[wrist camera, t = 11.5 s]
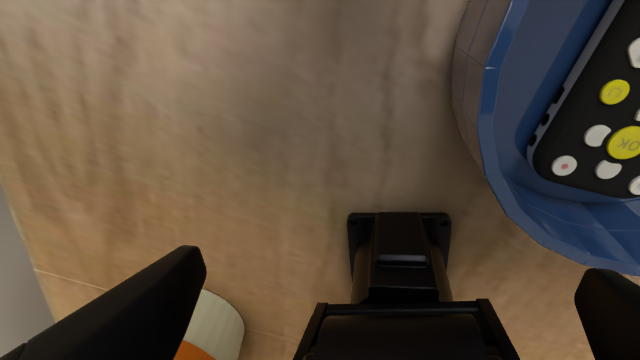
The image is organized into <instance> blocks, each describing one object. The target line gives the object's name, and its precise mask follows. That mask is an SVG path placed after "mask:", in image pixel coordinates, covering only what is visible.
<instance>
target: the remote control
mask: <svg viewBox="0 0 640 360" xmlns="http://www.w3.org/2000/svg"><path fill="white" fill-rule="evenodd" d="M551 103H552V104H551V106H550V108H549V109H548V111H547V113H546V114H545V115H544V116H543V118H542V120H541V123H540V125H539V126H538V128H537V130H536V131H535V133H534V135H532V136H531V138H530V140H529V145H528V148H527V159H528V162H529V164H530V165H531V167H532V168H533V170H534V171H535V172H536V173H537V174H538V175H539V176H541V177H542V178H543V179H545V180H547V181H550V182H553V183H557V184H561V185H565V186H569V187H573V188H577V189H581V190H585V191H589V192H593V193H597V194H601V195H605V196H609V197H614V198H620V199H630V198H637V197H640V0H613V1H612V3H611V4H610V6H609V8H608V9H607V11H606V13H605V14H604V16H603V18H602V20H601V21H600V23H599V25H598V26H597V28H596V30H595V31H594V33H593V35H592V37H591V38H590V40H589V42H588V43H587V45H586V47H585V48H584V50H583V52H582V53H581V55H580V57H579V59H578V60H577V62H576V64H575V65H574V67H573V69H572V70H571V72H570V74H569V76H568V77H567V79H566V81H565V82H564V84H563V86H561V87H560V89H559V91H558V92H557V94H556V96H555V97H554V99H553V101H552V102H551Z"/></svg>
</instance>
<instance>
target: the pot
mask: <svg viewBox="0 0 640 360" xmlns="http://www.w3.org/2000/svg"><path fill="white" fill-rule="evenodd" d="M612 1H613V0H470V1H469V3H468V5H467V8H466V10H465V13H464V15H463V18H462V21H461V24H460V28H459V32H458V35H457V39H456V43H455V47H454V54H453V61H452V68H451V93H452V101H453V109H454V113H455V116H456V120H457V123H458V127H459V132H460V134H461V136H462V138H463V139H464V141H465V143H466V145H467V147H468V148H469V150H470V152H471V154H472V155H473V157H474V159H475V161H476V163H477V164H478V166H479V168H480V170H481V172H482V173H483V175H484V177H485V179H486V180H487V182H488V184H489V186H490V188H491V189H492V191H493V193H494V195H495V196H496V198H497V200H498V202H499V203H500V205H501V207H502V209H503V210H504V212H505V214H506V215H507V217H509V218H510V219H511V220H512V221H513V222H514V223H515V224H516V225H518V226H519V227H520V228H521V229H522V230H523V231H524V232H526V233H527V234H528V235H529V236H530V237H531V238H532V239H533V240H535V241H536V242H537V243H538V244H540V245H541V246H543V247H545V248H548V249H550V250H552V251H554V252H556V253H558V254H560V255H562V256H565V257H567V258H569V259H571V260H573V261H575V262H577V263H579V264H583V265H585V266H590V267H594V268H599V269H610V270H613V271H615V272H617V273H622V274H627V275H631V276H640V197H637V198H630V199H620V198H614V197H609V196H605V195H601V194H597V193H593V192H589V191H585V190H581V189H577V188H573V187H569V186H565V185H561V184H557V183H553V182H550V181H547V180H545V179H543V178H542V177H541V176H539V175H538V174H537V173H536V172H535V171H534V170H533V168H532V167H531V165H530V164H529V162H528V159H527V148H528V145H529V140H530V138H531V136H532V135H534V133H535V131H536V130H537V128H538V126H539V125H540V123H541V120H542V118H543V116H544V115H545V114H546V113H547V111H548V109H549V108H550V106H551V104H552V103H551V102H552V101H553V99H554V97H555V96H556V94H557V92H558V91H559V89H560V87H561V86H563V84H564V82H565V81H566V79H567V77H568V76H569V74H570V72H571V70H572V69H573V67H574V65H575V64H576V62H577V60H578V59H579V57H580V55H581V53H582V52H583V50H584V48H585V47H586V45H587V43H588V42H589V40H590V38H591V37H592V35H593V33H594V31H595V30H596V28H597V26H598V25H599V23H600V21H601V20H602V18H603V16H604V14H605V13H606V11H607V9H608V8H609V6H610V4H611V3H612Z"/></svg>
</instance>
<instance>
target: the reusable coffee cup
mask: <svg viewBox="0 0 640 360" xmlns="http://www.w3.org/2000/svg"><path fill="white" fill-rule="evenodd" d="M244 332H245V329H244V323H243V320H242V318H241V316H240V315H239V313H238V312H237V311H236V310H235V309H234V308H233V306H232V305H230V304H229V303H228V302H227V301H225V300H224V299H223V298H221V297H219V296H218V295H216V294H214V293H212V292H209V291H207V290H204V289H202V290H201V293H200V296H199V298H198V301H197V304H196V307H195V310H194V312H193V315H192V318H191V321H190V324H189V326H188V329H187V331H186V334H185V336H184V338H183V341H182V343H181V345H180V347H179V349H178V351H177V353H176V356H175V358H174V360H237V359H238V356H239V352H240V348H241V344H242V340H243V336H244Z"/></svg>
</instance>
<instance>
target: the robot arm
mask: <svg viewBox="0 0 640 360" xmlns="http://www.w3.org/2000/svg"><path fill="white" fill-rule="evenodd" d="M352 220H357V221H358V222H353V221H352ZM441 220H446V221H445V222H443V223H440V221H441ZM451 224H452V223H451V219H450V216H449V215H448V214H446V213H417V212H379V213H352V214H350V215H349V216H348V219H347V229H348V240H349V252H350V263H351V274H352V283H353V284H352V294H351V304H328V303H317V306H316V308H315V310H314V313H313V315H312V316H311V318H310V321H309V323H308V325H307V328H306V330H305V332H304V335H303V337H302V339H301V342H300V344H299V346H298V349H297V351H296V353H295V356H294V358H293V360H520V358H519V356H518V354H517V352H516V350H515V348H514V346H513V344H512V343H511V341H510V339H509V337H508V335H507V333H506V331H505V329H504V327H503V325H502V324H501V322H500V320H499V318H498V316H497V314H496V312H495V310H494V308H493V306H492V305H491V303H490V301H489V299H476V301H453V297H452V293H451V289H450V285H449V280H448V276H447V262H448V253H449V243H450V234H451ZM206 274H207V271H206V266H205V263H204V260H203V257H202V254H201V251H200V249H199V248H198V247H197V246H188V245H183V246H180V247H178V248H177V249H175V250H174V251H172V252H170V253H169V254H167V255H166V256H164V257H162V258H161V259H159V260H157V261H156V262H154V263H153V264H151V265H149V266H148V267H146V268H145V269H143V270H141V271H140V272H138V273H136V274H135V275H133V276H132V277H130V278H128V279H127V280H125V281H124V282H122V283H120V284H119V285H117V286H115V287H114V288H112V289H111V290H109V291H107V292H106V293H104V294H102V295H101V296H99V297H98V298H96V299H94V300H93V301H91V302H90V303H88V304H86V305H85V306H83V307H81V308H80V309H78V310H77V311H75V312H73V313H72V314H70V315H69V316H67V317H65V318H64V319H62V320H60V321H59V322H57V323H56V324H54V325H52V326H51V327H49V328H47V329H46V330H44V331H43V332H41V333H39V334H38V335H36V336H35V337H33V338H32V339H30V340H29V341H28V342H27V343H23V344H21V345H20V346H18V347H17V348H15V349H13V350H12V351H10V352H9V353H7V354H6V355H4V356H2V357H1V358H0V360H174V358H175V356H176V353H177V351H178V349H179V347H180V345H181V343H182V341H183V338H184V336H185V334H186V331H187V329H188V326H189V324H190V321H191V318H192V315H193V312H194V310H195V307H196V304H197V301H198V298H199V296H200V293H201V290H202V287H203V284H204V282H205V279H206ZM574 301H575V306H576V309H577V311H578V314H579V317H580V320H581V322H582V325H583V328H584V331H585V333H586V336H587V339H588V342H589V344H590V347H591V350H592V352H593V355H594V358H595V360H640V286H638V285H637V284H635V283H633V282H632V281H630V280H629V279H627V278H625V277H624V276H622V275H620V274H619V273H617V272H615V271H613V270H610V269H599V268H590V269H588V270H586V271H585V273H584V275H583V277H582V279H581V282H580V284H579V286H578V288H577V290H576V292H575V296H574Z"/></svg>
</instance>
